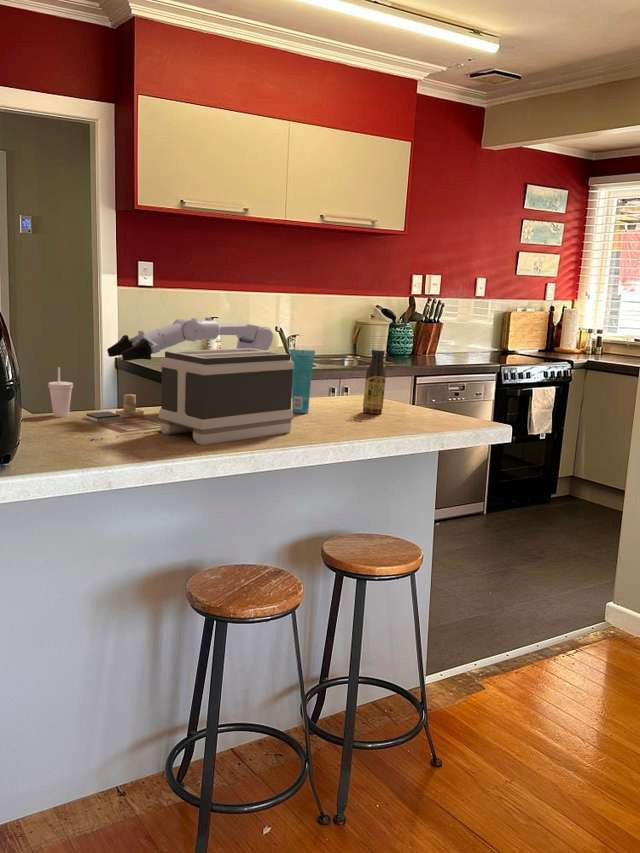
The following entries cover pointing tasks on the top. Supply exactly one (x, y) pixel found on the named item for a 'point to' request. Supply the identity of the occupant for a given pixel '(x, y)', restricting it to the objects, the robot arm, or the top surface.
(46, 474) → the top surface
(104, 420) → the ink pad
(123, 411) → the stamp
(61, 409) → the smoothie
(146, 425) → the board
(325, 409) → the top surface
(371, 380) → the sauce bottle
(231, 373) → the toaster
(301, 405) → the tube
